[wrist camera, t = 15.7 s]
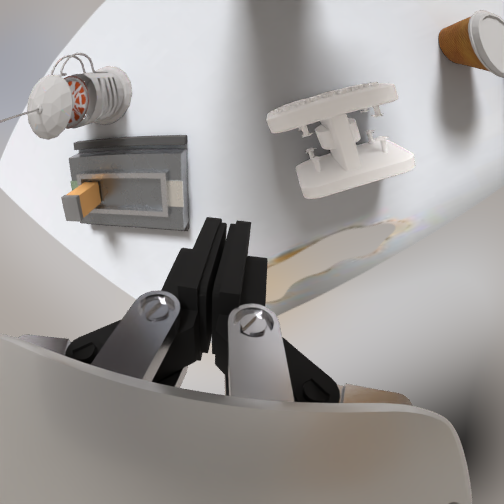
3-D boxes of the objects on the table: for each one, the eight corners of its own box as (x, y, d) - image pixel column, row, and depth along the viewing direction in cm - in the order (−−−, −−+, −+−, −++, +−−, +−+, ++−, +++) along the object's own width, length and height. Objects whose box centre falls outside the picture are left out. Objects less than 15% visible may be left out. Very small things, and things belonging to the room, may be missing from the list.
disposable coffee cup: (480, 73, 26) (528, 80, 16) (438, 73, 28) (486, 76, 18) (466, 21, 21) (511, 16, 11) (422, 16, 23) (466, 3, 13)
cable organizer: (292, 175, 40) (298, 207, 30) (265, 108, 35) (262, 115, 25) (386, 147, 36) (421, 170, 26) (366, 79, 31) (400, 78, 21)
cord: (77, 141, 38) (73, 143, 37) (186, 135, 37) (184, 136, 36) (78, 148, 39) (74, 150, 38) (186, 143, 38) (184, 144, 37)
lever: (84, 181, 38) (61, 197, 33) (98, 181, 38) (76, 197, 33) (87, 202, 41) (66, 220, 35) (101, 203, 40) (81, 221, 35)
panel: (78, 153, 39) (64, 160, 36) (188, 149, 39) (180, 155, 35) (87, 215, 46) (76, 225, 42) (190, 221, 45) (183, 233, 42)
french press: (81, 126, 36) (-39, 182, 16) (83, 59, 30) (-45, 75, 9) (130, 124, 37) (7, 181, 16) (135, 52, 30) (4, 46, 9)
